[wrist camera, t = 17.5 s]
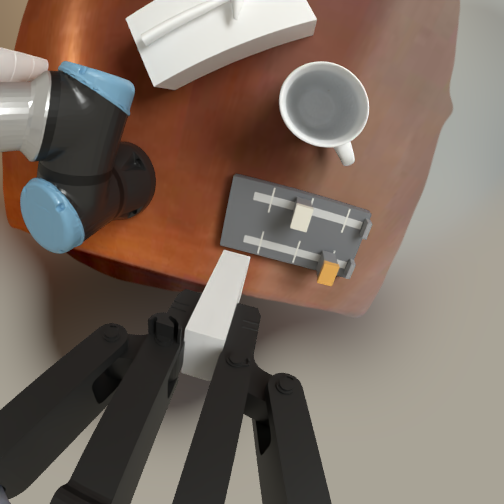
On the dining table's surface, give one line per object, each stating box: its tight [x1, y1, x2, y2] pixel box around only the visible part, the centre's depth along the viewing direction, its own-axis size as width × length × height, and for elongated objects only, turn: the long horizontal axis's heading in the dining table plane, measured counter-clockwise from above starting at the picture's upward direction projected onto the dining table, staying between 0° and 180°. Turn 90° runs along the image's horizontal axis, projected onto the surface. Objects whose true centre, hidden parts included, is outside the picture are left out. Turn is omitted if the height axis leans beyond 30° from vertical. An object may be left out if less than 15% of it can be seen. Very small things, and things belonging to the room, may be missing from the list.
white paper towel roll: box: [0, 48, 48, 82], centre depth 33 cm, size 11×11×18 cm
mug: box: [279, 62, 369, 166], centre depth 36 cm, size 15×11×13 cm
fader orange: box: [316, 250, 340, 286], centre depth 48 cm, size 3×4×5 cm
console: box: [220, 174, 372, 279], centre depth 49 cm, size 24×13×4 cm, turn 77°
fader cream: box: [290, 197, 314, 232], centre depth 45 cm, size 3×4×5 cm
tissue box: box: [126, 0, 317, 90], centre depth 32 cm, size 14×25×11 cm, turn 112°
